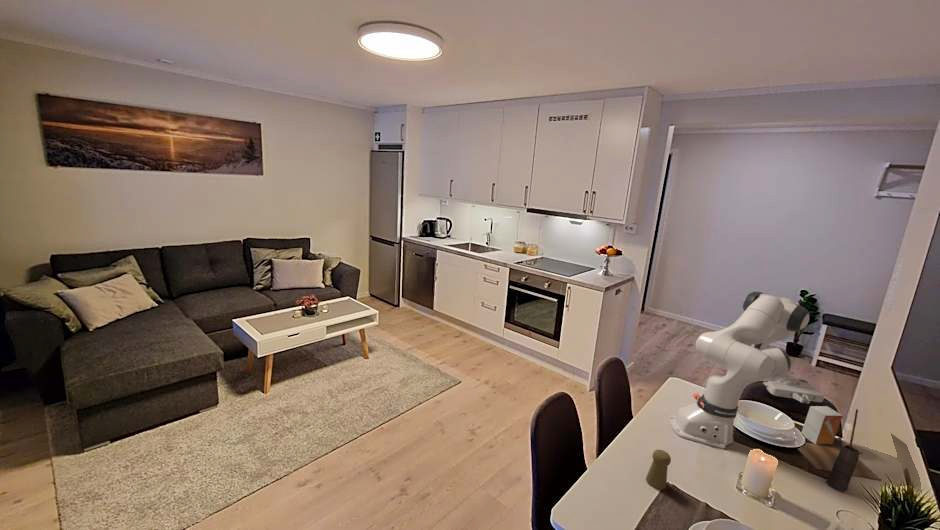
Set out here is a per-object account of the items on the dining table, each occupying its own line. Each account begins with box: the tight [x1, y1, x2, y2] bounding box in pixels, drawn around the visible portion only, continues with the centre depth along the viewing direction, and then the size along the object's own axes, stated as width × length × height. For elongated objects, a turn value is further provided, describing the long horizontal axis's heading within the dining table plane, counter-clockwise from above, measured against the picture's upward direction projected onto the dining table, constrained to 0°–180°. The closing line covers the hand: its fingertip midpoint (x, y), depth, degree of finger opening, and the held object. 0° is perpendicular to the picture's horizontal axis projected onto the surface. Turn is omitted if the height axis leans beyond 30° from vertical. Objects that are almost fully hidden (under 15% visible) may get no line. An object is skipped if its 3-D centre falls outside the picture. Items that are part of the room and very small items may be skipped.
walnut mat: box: [797, 442, 882, 482], centre depth 146 cm, size 20×16×1 cm
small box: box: [800, 405, 844, 445], centre depth 156 cm, size 8×6×13 cm
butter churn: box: [826, 408, 864, 493], centre depth 129 cm, size 9×10×28 cm
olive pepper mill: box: [645, 449, 672, 491], centre depth 126 cm, size 6×6×11 cm
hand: (805, 401), depth 166 cm, fingers closed
